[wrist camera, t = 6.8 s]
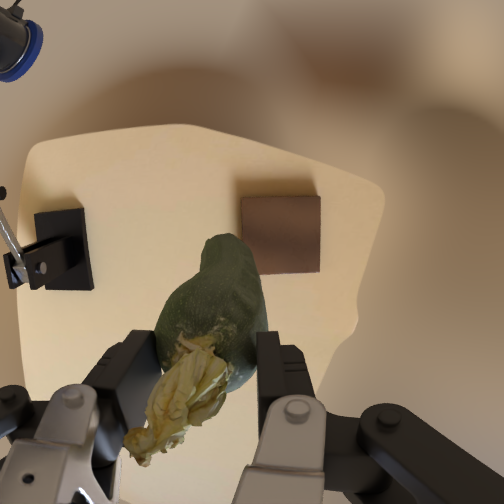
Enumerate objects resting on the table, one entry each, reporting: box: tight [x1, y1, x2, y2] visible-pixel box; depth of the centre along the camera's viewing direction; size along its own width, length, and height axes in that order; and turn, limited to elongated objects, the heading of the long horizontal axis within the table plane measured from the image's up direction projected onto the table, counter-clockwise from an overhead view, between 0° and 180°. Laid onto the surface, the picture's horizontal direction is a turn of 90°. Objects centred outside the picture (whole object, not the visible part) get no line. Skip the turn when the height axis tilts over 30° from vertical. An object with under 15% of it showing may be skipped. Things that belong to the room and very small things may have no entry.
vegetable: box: [123, 233, 268, 467], centre depth 15 cm, size 4×4×20 cm
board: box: [241, 196, 321, 275], centre depth 41 cm, size 10×10×2 cm
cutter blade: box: [0, 186, 29, 283], centre depth 29 cm, size 13×5×2 cm
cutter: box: [3, 208, 94, 291], centre depth 36 cm, size 12×9×12 cm
